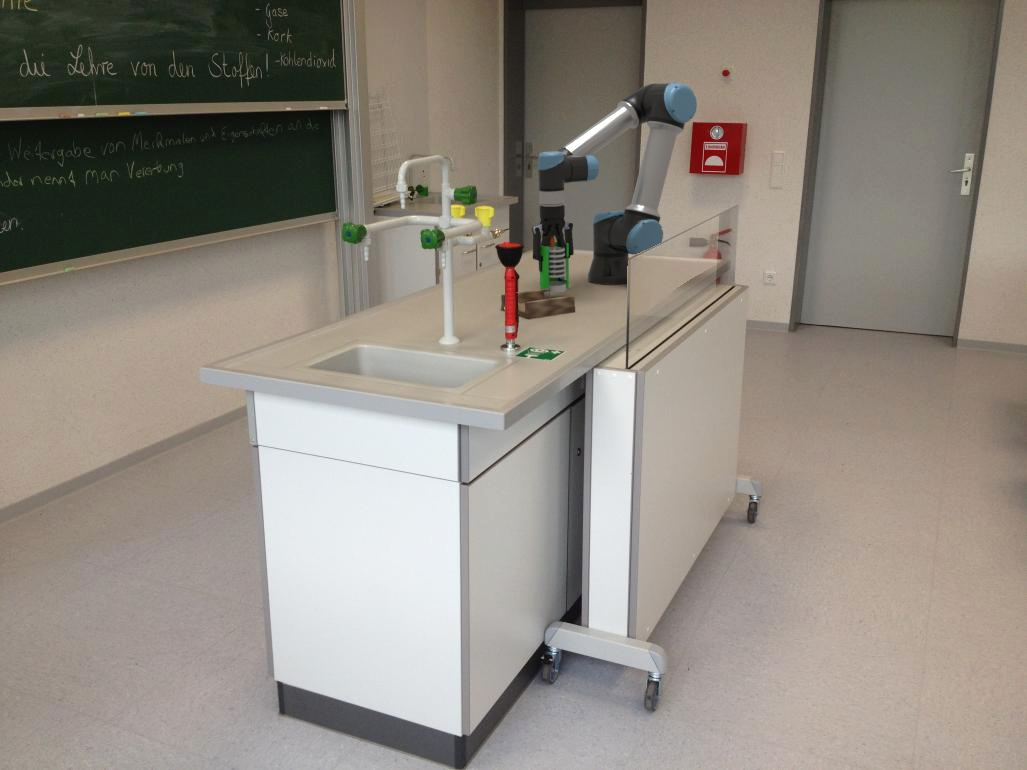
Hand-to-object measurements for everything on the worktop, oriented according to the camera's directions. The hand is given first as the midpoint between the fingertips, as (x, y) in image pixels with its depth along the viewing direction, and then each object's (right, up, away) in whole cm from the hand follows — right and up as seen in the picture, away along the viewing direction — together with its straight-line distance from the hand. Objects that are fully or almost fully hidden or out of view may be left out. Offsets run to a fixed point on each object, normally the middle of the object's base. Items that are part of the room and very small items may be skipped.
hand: (554, 280), depth 298 cm
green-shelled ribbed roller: (0, -3, +1) cm, 3 cm away
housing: (-5, -10, -15) cm, 19 cm away
